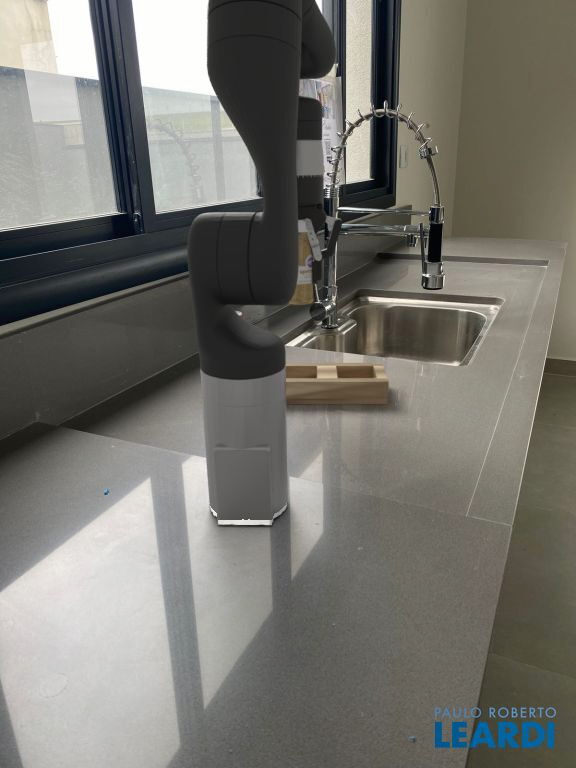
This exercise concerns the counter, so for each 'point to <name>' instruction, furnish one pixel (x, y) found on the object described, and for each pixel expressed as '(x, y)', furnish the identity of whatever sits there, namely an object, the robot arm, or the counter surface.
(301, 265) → the sprinkles bottle
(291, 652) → the counter surface
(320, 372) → the rack
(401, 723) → the counter surface
